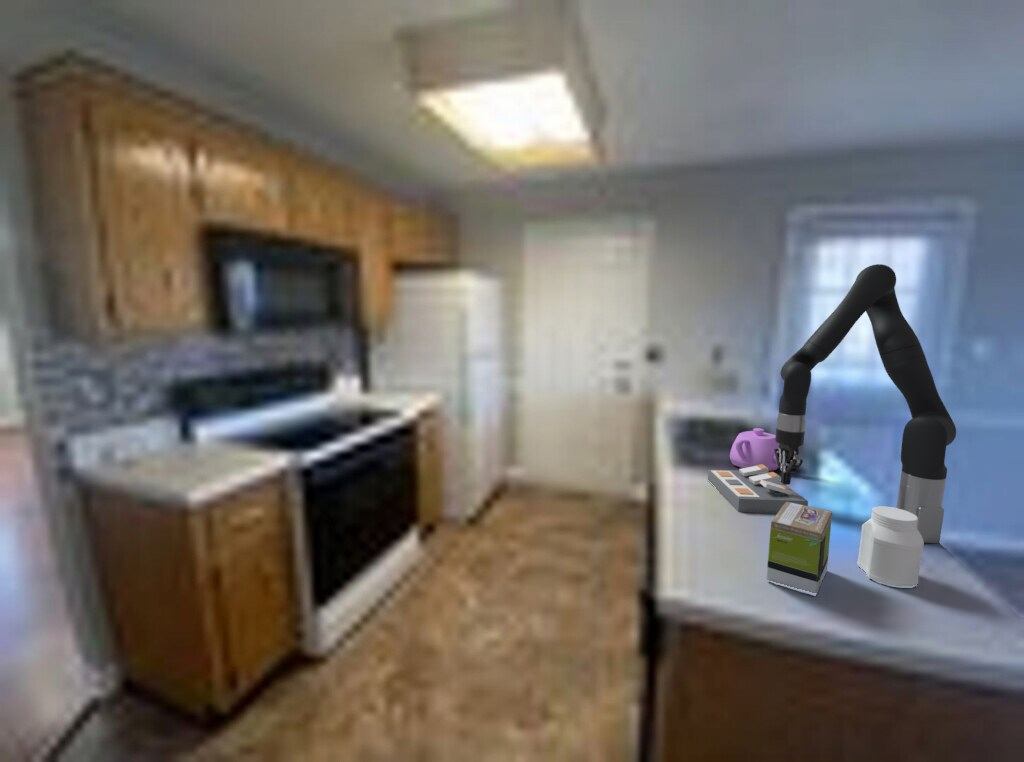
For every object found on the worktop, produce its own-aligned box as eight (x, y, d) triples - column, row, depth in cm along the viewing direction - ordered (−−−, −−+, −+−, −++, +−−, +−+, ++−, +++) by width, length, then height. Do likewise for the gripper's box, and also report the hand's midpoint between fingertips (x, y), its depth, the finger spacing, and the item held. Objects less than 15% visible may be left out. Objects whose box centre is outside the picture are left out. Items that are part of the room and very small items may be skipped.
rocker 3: (791, 495, 154) (792, 490, 153) (765, 487, 154) (767, 483, 153) (784, 490, 158) (786, 486, 157) (759, 483, 158) (761, 478, 157)
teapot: (715, 466, 195) (718, 427, 192) (749, 458, 205) (752, 422, 203) (772, 484, 175) (776, 442, 173) (806, 474, 186) (810, 434, 184)
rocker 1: (768, 471, 169) (768, 467, 169) (744, 476, 170) (743, 472, 169) (763, 467, 173) (762, 463, 173) (739, 472, 174) (738, 468, 173)
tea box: (780, 557, 124) (786, 499, 122) (827, 571, 118) (834, 510, 116) (764, 582, 113) (770, 519, 111) (816, 599, 107) (824, 532, 104)
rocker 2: (780, 479, 161) (779, 475, 161) (754, 484, 162) (753, 480, 162) (774, 475, 165) (773, 471, 165) (749, 480, 166) (748, 476, 166)
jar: (852, 560, 123) (859, 501, 121) (898, 566, 121) (906, 505, 119) (873, 585, 112) (881, 521, 110) (923, 592, 110) (933, 526, 108)
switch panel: (806, 513, 151) (808, 498, 150) (738, 511, 151) (739, 496, 151) (765, 482, 177) (767, 469, 177) (707, 480, 178) (708, 467, 177)
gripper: (815, 433, 146) (809, 491, 148) (792, 423, 159) (787, 476, 161) (788, 433, 146) (783, 491, 148) (767, 422, 159) (763, 476, 161)
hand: (785, 483), depth 155 cm, fingers closed
